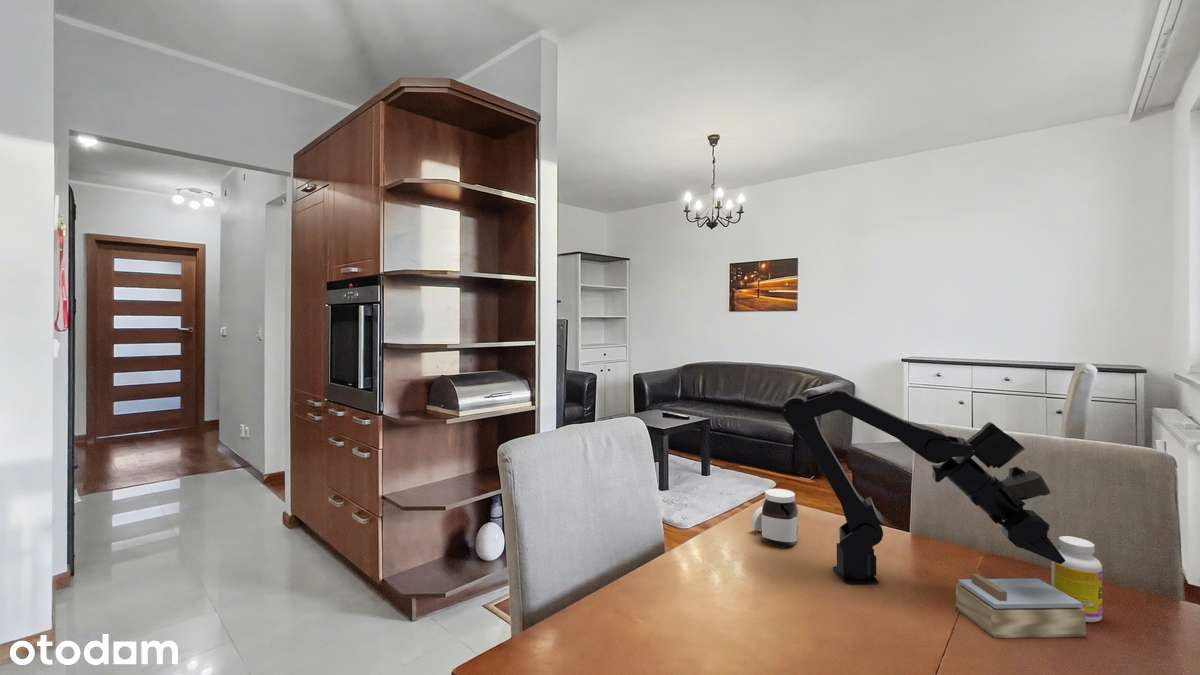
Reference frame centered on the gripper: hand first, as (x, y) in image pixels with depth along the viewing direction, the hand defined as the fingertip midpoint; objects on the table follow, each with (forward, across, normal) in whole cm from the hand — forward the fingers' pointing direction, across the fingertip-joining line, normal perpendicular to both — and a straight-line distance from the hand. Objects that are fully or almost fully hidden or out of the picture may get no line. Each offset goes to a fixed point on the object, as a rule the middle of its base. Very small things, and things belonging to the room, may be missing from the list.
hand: (1052, 551), depth 93 cm
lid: (-1, -7, +9) cm, 12 cm away
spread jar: (-28, +15, +42) cm, 52 cm away
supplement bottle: (+10, 0, +5) cm, 11 cm away
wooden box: (+2, -7, +12) cm, 15 cm away
